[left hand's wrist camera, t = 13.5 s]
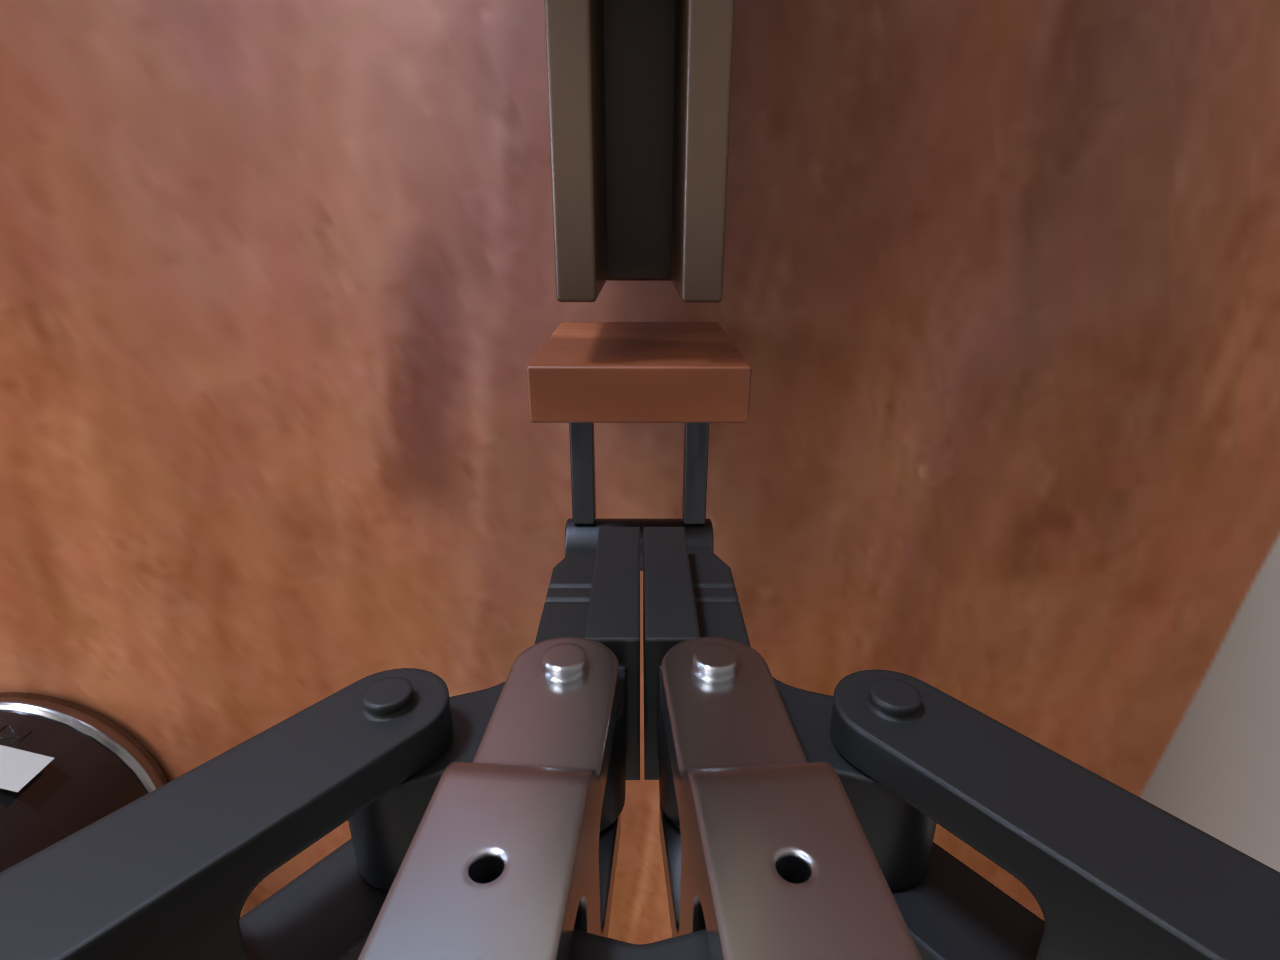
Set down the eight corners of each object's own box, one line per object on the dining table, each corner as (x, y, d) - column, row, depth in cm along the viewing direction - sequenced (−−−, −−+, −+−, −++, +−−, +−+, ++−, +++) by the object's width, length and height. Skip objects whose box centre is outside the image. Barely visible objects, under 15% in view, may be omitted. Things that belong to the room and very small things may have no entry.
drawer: (709, 523, 22) (736, 636, 16) (568, 523, 22) (541, 637, 16) (757, -638, 13) (851, -1327, 7) (522, -638, 13) (428, -1330, 7)
